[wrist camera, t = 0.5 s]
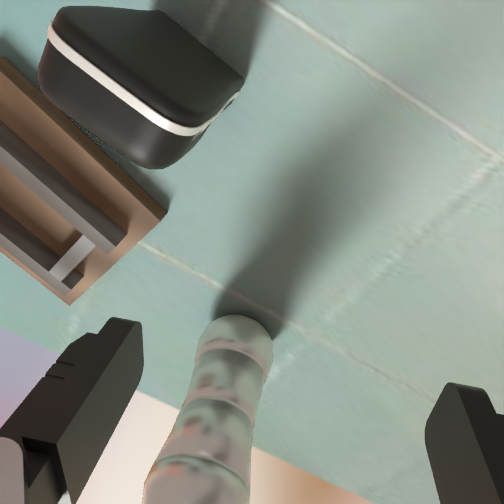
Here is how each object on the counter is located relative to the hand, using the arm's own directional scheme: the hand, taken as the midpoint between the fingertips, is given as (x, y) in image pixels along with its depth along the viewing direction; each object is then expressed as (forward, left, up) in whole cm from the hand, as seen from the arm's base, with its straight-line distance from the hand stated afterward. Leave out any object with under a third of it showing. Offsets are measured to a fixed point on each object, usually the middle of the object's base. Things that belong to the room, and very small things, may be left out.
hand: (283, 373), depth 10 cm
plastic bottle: (+15, +9, -19) cm, 26 cm away
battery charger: (+2, -9, -19) cm, 21 cm away
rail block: (+18, -11, -19) cm, 29 cm away
